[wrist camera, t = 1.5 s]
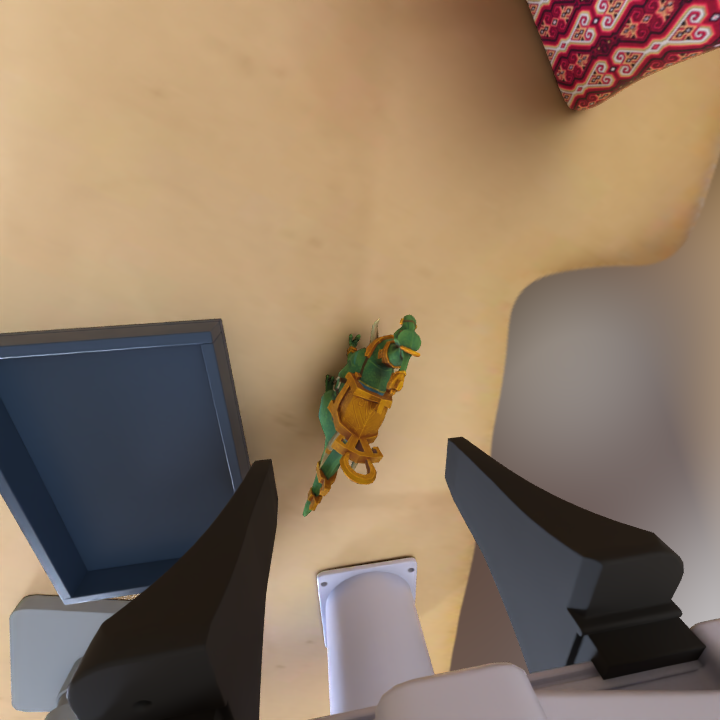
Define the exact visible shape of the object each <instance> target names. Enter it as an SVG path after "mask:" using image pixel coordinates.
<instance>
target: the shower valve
mask: <svg viewBox="0 0 720 720" xmlns="http://www.w3.org/2000/svg"><path fill="white" fill-rule="evenodd" d="M129 602H131V601H125V600H109V599H101V600H95V601H88V602H82V603H75V604H69V605H65V604H64V603H63V601H62V599H61V598H60V596H44V595H32V596H27V597H25V598H23V599H22V600H21V602H20V603H19V604H18V606H17V607H16V608H15V610H14V611H13V612H12V614H11V615H10V619H9V620H10V658H11V695H12V706H13V707H14V708H15V709H16V710H19V711H24V712H50V713H49V714H48V715H47V716H46V718H45V720H79V719H78V718H77V716H76V715H75V714H74V712H73V711H72V709H71V708H70V705H69V703H68V700H67V698H66V693H67V687H68V685H69V683H70V681H71V679H72V677H73V675H74V673H75V672H76V670H77V668H78V666H79V664H80V662H81V660H82V658H83V656H84V654H85V652H86V650H87V648H88V646H89V644H90V643H91V641H92V639H93V637H94V636H95V634H96V633H97V631H98V629H99V628H100V626H101V624H102V623H103V622H104V621H105V620H107V619H108V618H110V617H111V616H112V615H114V614H115V613H116V612H118V611H119V610H120V609H122V608H123V607H124V606H125V605H127V604H128V603H129Z"/></svg>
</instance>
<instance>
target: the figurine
mask: <svg viewBox="0 0 720 720" xmlns="http://www.w3.org/2000/svg"><path fill="white" fill-rule="evenodd" d="M379 319H380V318H379ZM379 319H378V320H377V321H375V322H374V324H373V326H372V331H371V340H370V344H369V346H368V347H367V349H366V348H363V349H360V350H358V351H357V348H355V347H356V346H357V342H358V341H359V340H360V337H361V336H360V335H357V336H356V338H355V339H354V340H353V341H352V339H353V336H352V334H350V336H349V343H350V347H349V348H348V350H347V352H348V353H347V358H348V360H347V365H346V366H345V367H344V368H343V369H342V370H341V371H340V372H339V374H338V377H337V378H336V380H335V382H334V383H333V381H334V376H332V377H331V379H330V381H329V377H330V376H329V375H327V376H326V391H325V393H324V395H323V396H322V398H321V404H320V409H319V420H320V423H321V426H322V429H323V431H324V434H325V437H326V440H325V447H324V452H323V454H322V457H321V460H320V461H319V462H318V463H317V467H316V471H317V473H316V477H315V480H314V483H313V486H312V487H311V488H310V491H309V493H308V499H307V502H306V504H305V508H304V511H303V516H304V517H305V516H307V515H308V514H309V513H310V512H311V511H312V510H313V511H315V509H316V507H317V505H318V503H320V502H321V500H322V496H325V495H326V494H327V493H328V492H329V490H330V489H331V485H332V484H333V483H334V481H335V478H336V475H337V471H338V468H339V466H340V465H341V468H342V470H343V472H344V473H345V475H346V476H347V477H348V478H349V479H350V480H351V481H353V482H355V483H357V484H370V483H373V481H374V480H375V478H376V473H377V472H376V470H375V468H374V466H373V464H372V463H377V462H379V461H380V460H381V459H382V457H383V455H382V453H381V452H380V450H379V448H378V447H373V448H372V449H371V448H370V446H369V444H370V443H373V442H374V440H375V439H376V437H377V436H378V429H379V427H380V426H381V424H382V422H383V421H384V418H385V415H386V412H387V409H388V408H391V404H392V395H394V394H395V392H397V391H400V390H401V389H402V387H403V382H404V377H405V376H406V368H407V365H408V362H409V359H410V357H411V356H412V355H413V356H416V357H419V356H420V353H418V352H415V351H417V350H418V349H419V348H420V346H421V340H420V337H419V336H418V335H417V334H416V332H415V329H416V328H417V325H416V320H415V318H414V317H413V316H412V315H406V316H404V318H403V319H401V320H400V324H401V325H402V327H401V328H399V329H398V330H397V331H396V332H395V333H394V336H393V335H387V336H383V337H379V338H378V328H377V327H378V322H379ZM395 368H396V369H397V368H400V369H399V371H397V372H395V373H394V369H395ZM355 448H356V449H355ZM348 460H352V461H353V462H352V465H351V467H350V465H349V462H348ZM358 463H365V464H366V468H367V475H362V474H359V473H356V472H355V471H354V470H355V468H356V466H357V464H358Z"/></svg>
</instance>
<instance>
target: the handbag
mask: <svg viewBox="0 0 720 720" xmlns="http://www.w3.org/2000/svg"><path fill="white" fill-rule="evenodd" d="M526 1H527V3H528V6H529V8H530V11H531V14H532V16H533V19H534V22H535V24H536V27H537V29H538V32H539V35H540V37H541V40H542V43H543V45H544V48H545V51H546V53H547V56H548V59H549V61H550V64H551V67H552V70H553V72H554V75H555V78H556V81H557V83H558V86H559V89H560V91H561V94H562V96H563V99H564V101H565V102H566V104H567V105H568V107H569V108H571V109H573V110H587V109H590V108H593V107H596V106H598V105H600V104H601V103H603V102H605V101H607V100H608V99H610V98H611V97H613V96H615V95H616V94H618V93H619V92H621V91H623V90H624V89H626V88H627V87H629V86H631V85H632V84H634V83H636V82H637V81H639V80H641V79H643V78H645V77H647V76H649V75H651V74H653V73H656V72H658V71H660V70H663V69H665V68H667V67H670V66H672V65H675V64H677V63H680V62H683V61H685V60H688V59H691V58H693V57H696V56H699V55H701V54H704V53H707V52H710V51H713V50H715V49H718V48H720V0H526Z"/></svg>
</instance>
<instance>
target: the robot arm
mask: <svg viewBox="0 0 720 720" xmlns="http://www.w3.org/2000/svg"><path fill="white" fill-rule="evenodd" d="M445 479H446V482H447V484H448V487H449V490H450V492H451V495H452V497H453V500H454V502H455V504H456V506H457V507H458V509H459V511H460V513H461V515H462V517H463V519H464V520H465V522H466V524H467V526H468V528H469V530H470V531H471V533H472V535H473V537H474V539H475V541H476V542H477V544H478V546H479V548H480V550H481V552H482V553H483V556H484V558H485V560H486V562H487V564H488V567H489V569H490V571H491V574H492V576H493V578H494V581H495V583H496V586H497V588H498V590H499V593H500V595H501V598H502V600H503V603H504V605H505V608H506V610H507V613H508V615H509V618H510V621H511V623H512V626H513V629H514V631H515V634H516V636H517V639H518V642H519V645H520V647H521V650H522V653H523V656H524V659H525V662H526V665H527V667H528V670H529V673H530V674H526V673H525V671H524V670H523V669H521V668H520V667H518V666H516V665H514V664H511V663H509V662H504V663H503V662H502V663H490V664H485V665H480V666H475V667H471V668H466V669H460V670H455V671H450V672H445V673H440V674H435V675H434V671H433V667H432V664H431V660H430V657H429V653H428V649H427V646H426V642H425V639H424V635H423V631H422V628H421V624H420V621H419V617H418V614H417V610H416V606H415V596H416V575H417V562H416V559H415V558H412V557H410V558H403V559H397V560H391V561H384V562H378V563H372V564H365V565H359V566H352V567H346V568H340V569H333V570H327V571H322V572H320V573H318V575H317V584H318V592H319V600H320V608H321V617H322V625H323V633H324V641H325V647H327V652H328V673H329V695H330V715H329V716H324V717H319V718H314V719H309V720H720V618H719V619H714V620H709V621H704V622H700V623H697V624H695V625H694V626H692V627H691V628H690V629H689V628H688V626H687V625H685V623H684V622H683V621H682V620H681V619H680V618H679V617H681V615H682V611H681V610H680V609H679V607H678V606H677V605H675V603H674V602H673V601H672V600H671V598H672V597H673V595H674V593H675V591H676V589H677V587H678V585H679V583H680V581H681V579H682V576H683V573H684V569H683V562H682V560H681V558H680V557H679V556H678V555H677V554H676V553H675V552H674V551H673V550H672V549H670V548H669V547H668V546H667V545H666V544H665V543H664V542H663V541H662V540H661V539H660V538H658V537H657V536H656V535H655V534H654V533H652V532H649V531H646V530H642V529H639V528H636V527H633V526H630V525H627V524H623V523H620V522H617V521H614V520H612V519H609V518H606V517H603V516H600V515H598V514H595V513H593V512H590V511H588V510H585V509H583V508H581V507H578V506H576V505H574V504H572V503H569V502H567V501H565V500H562V499H561V498H558V497H556V496H554V495H552V494H550V493H549V492H547V491H545V490H543V489H541V488H539V487H537V486H535V485H534V484H532V483H530V482H528V481H527V480H525V479H523V478H522V477H520V476H518V475H517V474H515V473H513V472H512V471H511V470H509V469H507V468H506V467H504V466H503V465H501V464H500V463H499V462H497V461H496V460H494V459H493V458H491V457H490V456H489V455H487V454H486V453H484V452H483V451H482V450H480V449H479V448H477V447H476V446H475V445H473V444H472V443H470V442H469V441H468V440H466V439H465V438H463V437H456V438H448V446H447V458H446V470H445ZM277 512H278V496H277V490H276V484H275V478H274V472H273V466H272V460H271V459H267V460H259V461H255V462H254V463H253V464H252V466H251V468H250V469H249V471H248V473H247V475H246V476H245V478H244V479H243V481H242V483H241V484H240V486H239V487H238V489H237V490H236V492H235V493H234V495H233V496H232V498H231V499H230V500H229V502H228V503H227V505H226V506H225V507H224V509H223V510H222V511H221V513H220V514H219V515H218V517H217V518H216V519H215V520H214V522H213V523H212V524H211V525H210V527H209V528H208V529H207V530H206V531H205V533H204V534H203V535H202V536H201V537H200V538H199V539H198V540H197V542H196V543H195V544H194V545H193V546H192V547H191V548H190V549H189V550H188V551H187V552H186V553H185V554H184V555H183V556H182V557H181V558H180V559H179V560H178V561H177V562H176V563H175V564H174V565H173V566H172V567H171V568H170V569H169V570H168V571H167V572H165V573H164V574H163V575H162V576H161V577H160V578H159V579H158V580H156V581H155V582H154V583H153V584H152V585H151V586H149V587H148V588H147V589H146V590H145V591H143V592H142V593H141V594H140V595H138V596H137V597H136V598H135V599H133V600H132V601H131V602H129V603H128V604H127V605H125V606H124V607H123V608H122V609H120V610H119V611H118V612H116V613H115V614H114V615H112V616H111V617H110V618H108V619H107V620H105V621H104V622H103V623H102V624H101V626H100V628H99V629H98V631H97V633H96V634H95V636H94V637H93V639H92V641H91V643H90V644H89V646H88V648H87V650H86V652H85V654H84V656H83V658H82V660H81V662H80V664H79V666H78V668H77V670H76V672H75V673H74V675H73V677H72V679H71V681H70V683H69V685H68V687H67V693H66V698H67V700H68V703H69V705H70V708H71V709H72V711H73V712H74V714H75V715H76V716H77V718H78V719H79V720H259V707H260V684H261V664H262V646H263V630H264V615H265V601H266V591H267V583H268V577H269V571H270V564H271V558H272V552H273V546H274V540H275V533H276V527H277Z"/></svg>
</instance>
